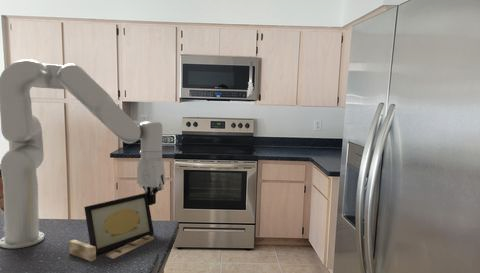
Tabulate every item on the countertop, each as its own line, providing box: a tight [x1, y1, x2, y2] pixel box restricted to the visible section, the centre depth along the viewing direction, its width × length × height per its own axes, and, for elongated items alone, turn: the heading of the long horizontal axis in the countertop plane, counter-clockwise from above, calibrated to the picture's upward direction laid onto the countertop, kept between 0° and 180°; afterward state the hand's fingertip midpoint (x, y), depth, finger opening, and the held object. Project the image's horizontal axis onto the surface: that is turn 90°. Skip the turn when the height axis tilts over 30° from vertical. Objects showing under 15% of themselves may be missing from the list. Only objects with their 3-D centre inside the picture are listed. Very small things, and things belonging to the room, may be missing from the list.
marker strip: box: [105, 235, 155, 260], centre depth 111 cm, size 3×18×1 cm, turn 152°
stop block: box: [69, 239, 97, 262], centre depth 103 cm, size 10×2×4 cm, turn 62°
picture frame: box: [83, 192, 155, 255], centre depth 115 cm, size 23×9×15 cm, turn 143°
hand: (151, 204), depth 125 cm, fingers closed
